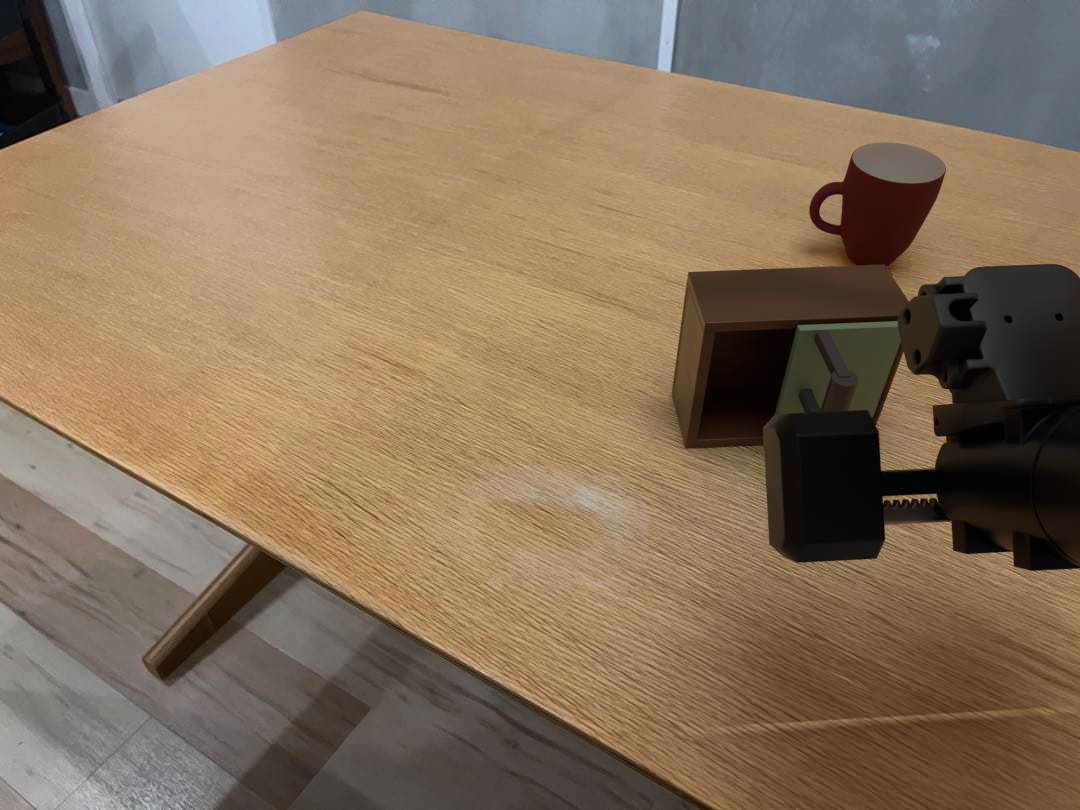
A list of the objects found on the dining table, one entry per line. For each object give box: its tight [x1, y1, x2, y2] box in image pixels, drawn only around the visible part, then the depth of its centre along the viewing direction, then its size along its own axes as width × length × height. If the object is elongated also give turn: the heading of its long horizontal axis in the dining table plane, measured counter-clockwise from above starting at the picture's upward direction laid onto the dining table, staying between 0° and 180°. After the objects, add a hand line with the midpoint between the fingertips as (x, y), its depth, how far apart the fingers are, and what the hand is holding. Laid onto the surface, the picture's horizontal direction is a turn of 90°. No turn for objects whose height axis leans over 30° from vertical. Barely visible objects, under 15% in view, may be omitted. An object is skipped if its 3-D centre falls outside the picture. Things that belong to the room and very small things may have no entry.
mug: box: [808, 142, 947, 268], centre depth 76 cm, size 11×8×10 cm
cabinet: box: [671, 264, 910, 449], centre depth 59 cm, size 6×14×12 cm, turn 93°
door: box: [775, 321, 901, 418], centre depth 55 cm, size 6×7×11 cm
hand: (898, 469), depth 43 cm, fingers open, 9 cm apart
